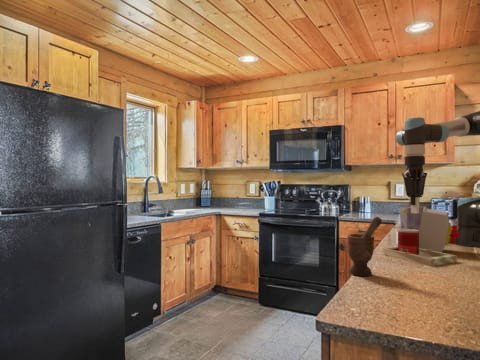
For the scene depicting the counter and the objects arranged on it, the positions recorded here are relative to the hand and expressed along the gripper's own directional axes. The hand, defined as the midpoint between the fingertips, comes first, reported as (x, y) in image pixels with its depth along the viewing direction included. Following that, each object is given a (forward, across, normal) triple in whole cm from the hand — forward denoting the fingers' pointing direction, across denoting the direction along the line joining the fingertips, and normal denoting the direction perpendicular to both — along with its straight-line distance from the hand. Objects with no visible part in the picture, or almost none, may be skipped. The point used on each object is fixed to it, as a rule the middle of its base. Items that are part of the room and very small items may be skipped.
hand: (415, 213), depth 144 cm
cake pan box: (+19, -39, -28) cm, 52 cm away
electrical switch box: (+19, -19, -3) cm, 27 cm away
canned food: (+19, 0, -3) cm, 19 cm away
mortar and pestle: (+18, +38, +9) cm, 44 cm away
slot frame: (+18, 0, +2) cm, 18 cm away
